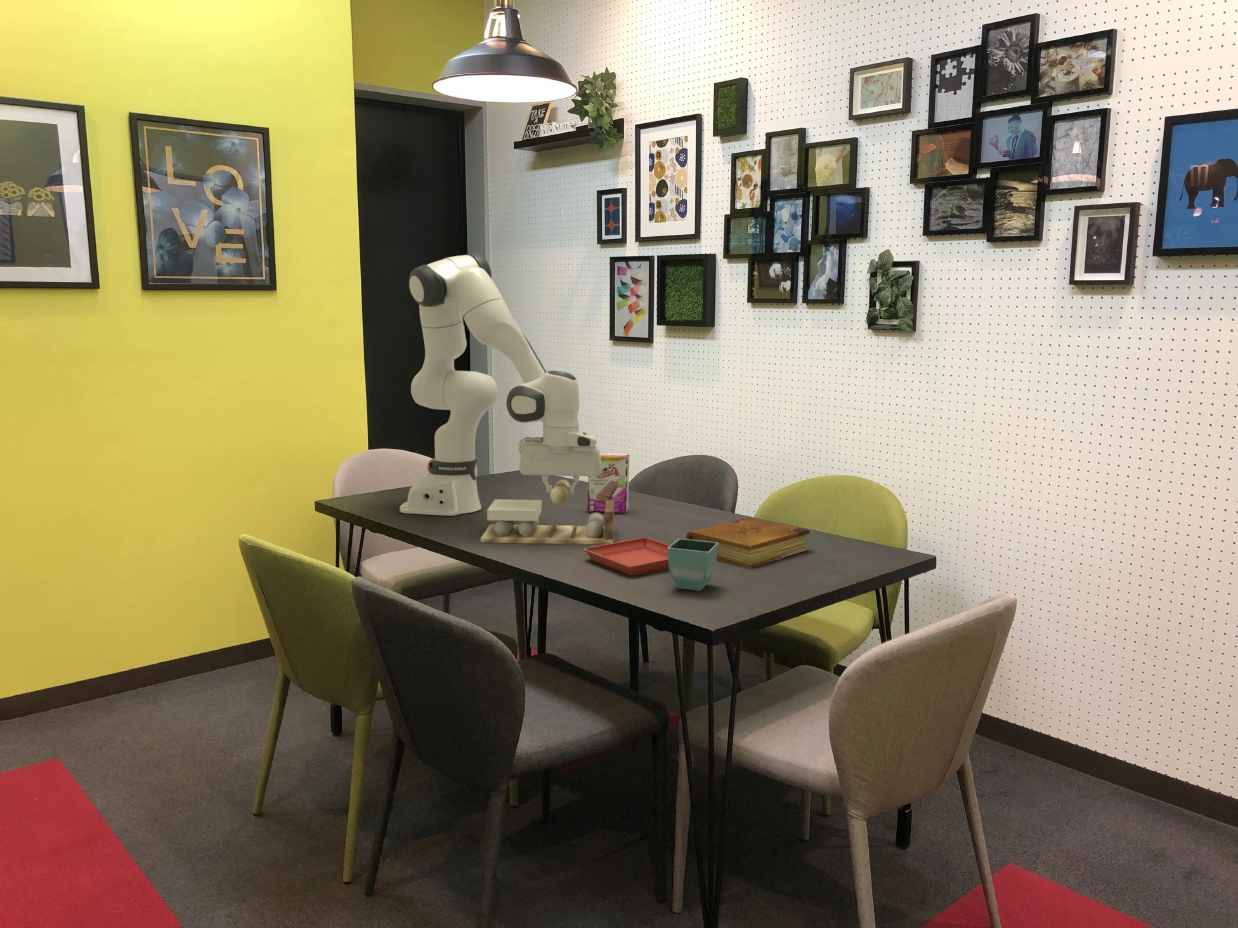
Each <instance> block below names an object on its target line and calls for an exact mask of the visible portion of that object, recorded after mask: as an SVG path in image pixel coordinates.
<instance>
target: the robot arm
mask: <svg viewBox="0 0 1238 928" xmlns="http://www.w3.org/2000/svg"><path fill="white" fill-rule="evenodd" d="M408 277H409V278H408V288H409V292H410V295H411V297H412V299H413V300H414V301H415V303H416V304H418V305H419V318H420V325H421V329H422V337H423V342H424V351H425V352H424V354H425V356H424V361H423V365H422V367H421V369H420V370H419V371H418V372H417V374H416V375H415V376H414V377H413V379H412V381H411V385H410V393H411V396H412V399H413V400H414V402H415V403H416V404H418V405H419V406H422V407H425V408H428V409H433V410H443V411H445V410H447V411H450V415H449V419H448V421H447V422H446V423H445V424H442V425H441V426H440V427H438V429H437V430H435V433H434V458H431V459H430V460H429V461H428V462H427V471H428V473H426V475H423V476H422V477H421V478H420V479H419V480H417V481H416V482H415V483H414V484H413V485H412V486H411V487H410V488H409V491H408V495H407V501H405V502H403V503H401V505H400V506H399V512H400V513H403V514H410V515H411V514H413V515H414V514H415V515H429V516H430V515H432V516H450V517H451V516H458V515H462V514H468V513H469V514H470V513H474V512H477V511H480V510H481V509H482V504H481V502H480V496H479V493H478V486H477V478H478V463H477V462H478V461H477V459H476V434H477V429H478V426H479V424H480V421H481V419H482V417H483V416H484V414H485V413H486V412H488V410H490V409H491V408H492V407H493V406H494V405H495V403H496V401H497V399H498V392H499V391H498V385H497V383H496V381H495V379H494V378H493V377H492V376H491V375H489V374H485V373H483V372H479V371H474V370H473V371H470V370H456V369H455V360H456V359H458V358H459V357H460V356H461V355H462V354H464V352H466V348H467V346H468V345H467V344H468V343H467V338H466V332H465V325H464V323H465V324H466V326H467V329H468V330H469V331H470V333H471V334H472V336H473V337H474V338H475V340H476V341H477V342H479V343H480V344H482V345H485V346H488V347H490V348H491V349H494V350H496V351H498V352H500V353H501V354H503V355H504V356H506V357H507V358H509V360H510V361H511V363H512V364H513V365H514V367H515V369H516V371H517V373H518V375H519V376H520V378H521V379H522V381H523V382H524V383H523V384H518V385H516V386H514V387H513V388H511V389H510V390H509V392H508V394H507V396H506V403H505V405H506V409H507V412H508V414H509V416H510V417H511V418H512V419H513V420H514V421H516V422H519V423H524V424H525V423H526V424H529V423H536V422H542V437H541V436H540V437H538V436H536V437H535V436H534V437H531V436H526V437H524V438H522V439H521V440H520V441H519V443H518V452H519V454H520V458H519V472H520V474H521V475H523V476H541V480H542V483H543V484H544V486H545V488H546V489H545V491H546V492H545V493H546V494H550V492H551V491H552V489H553V487H554V485H550V483H549V482H548V479H549V476H554V477H555V476H556V477H557V476H558V477H559V476H560V477H561V476H563V477H572V481H574V482H573V483H572V485H570V486H569V487H568V490H569V491H568V495H574V494H575V489H576V488H575V487H576V486H577V484H578V483H579V480H580V477H588V476H599V475H600V474H601V472H602V465H601V456H600V453H601V452H600V449H599V447H598V446H597V442H598V439H597V436H596V435H593V434H590V433H588V432H585V431H582V430H580V423H579V419H578V418H579V417H578V415H579V410H580V390H579V389H580V388H579V384H578V380H577V377H575V375H574V374H571V373H570V372H567V371H566V372H565V371H560V370H547V371H546V369H545V367H544V365H543V363H542V362H541V360H540V359H539V357H538V355H537V353H536V352H535V350H534V348H533V347H532V345H531V343H530V342H529V340H528V338H527V337H526V335H525V334H524V332H523V330H521V328H520V326H519V325H518V323H517V322H516V320H515V319H514V317H513V314H512V313H511V311H510V309H509V307H508V306H507V304H506V301H505V299H504V298H503V296H502V294H501V292H500V290H499V289H498V287H497V285H496V283H495V282H494V281H493V279H492V277H493V276H492V269H491V266H490V264H489V262H488V261H487V260H486V259H485V257H484V256H483V255H481V254H479V253H466V254H465V253H464V254H463V255H455V256H450V257H445V258H443V259H439V260H437V261H434V262H431V263H428V264H422V265H420V266H418V267H415V268H414V269H412V270H411V272H410V274H409V276H408Z"/></svg>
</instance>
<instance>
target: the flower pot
mask: <svg viewBox="0 0 1238 928" xmlns="http://www.w3.org/2000/svg"><path fill="white" fill-rule="evenodd" d="M669 545H670V546H669V547H668V548H667V549H668V562H669V574H670V577H671V580H672V582H673V584H674V585H675V587H676V588H677V589H680V590H689V591H697V592H701V591H703V590H704V588H706V586H707V585H708V583H709V582H710V580H711V578H712V575H713V574H714V571H715V567H716V564H717V560H716V559H717V552H718V545H719V543H717V542H708V541H699V540H689V539H686V538H677V539H676V540H675V541H674V542H672V544H669Z"/></svg>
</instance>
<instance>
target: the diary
mask: <svg viewBox="0 0 1238 928" xmlns="http://www.w3.org/2000/svg"><path fill="white" fill-rule="evenodd" d="M809 534H810V529H808V528H802V527H797V526H792V525H787V524H784V523H783V524H782V523H778V522H772V521H768V520H765V519H764V520H763V519H759V518H753V517H746V518H741V519H737V520H732V521H728V522H725V523H720V524H716V525H712V526H708V527H707V526H706V527H703V528H699V529H694V530H690V531H688V532H687V533H686V535H685V537H686V538H685V539H689V540H699V541H708V542H717V543H719V545H718V552H717V559H716V561H719V562H723V563H727V564H732V565H734V564H735V565H736V566H738V565H740V566H739V567H742V566H744V567H743V568H746V567H748V569H751V568H750V567H752V568H755V567H754V566H756V565H759V566H761V565H760V564H762V563H766V562H768V561H771V560H775V559H777V558H781V557H782V556H785V555H786V554H788V553H792V552H795V551H798V550H801V549H805V548H806V535H809ZM766 564H767V563H766ZM762 565H763V564H762ZM756 567H757V566H756Z"/></svg>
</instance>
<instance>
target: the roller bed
mask: <svg viewBox="0 0 1238 928" xmlns="http://www.w3.org/2000/svg"><path fill="white" fill-rule="evenodd" d="M515 523H516V521H509V520H496V522H495V524H489V525H488V527H487V528H486V530H485V531H484V533H483V534H482V535H481V537H480V543H494V544H495V543H499V544H501V543H502V544H506V543H508V544H556V545H557V544H567V545H605V544H611V543H614V534H615V533H614V532H615V513H614V500H606V507H605V513H604V515H602V513H599V512H591V514H590V515H589V516H588V520H587V525H578V523H574V524H573V525H557V523H552V525H550V524H549V525H548V524H547V525H545V524H539V523H540V516H539V517H538V519H537V521H520V524H515Z"/></svg>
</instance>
